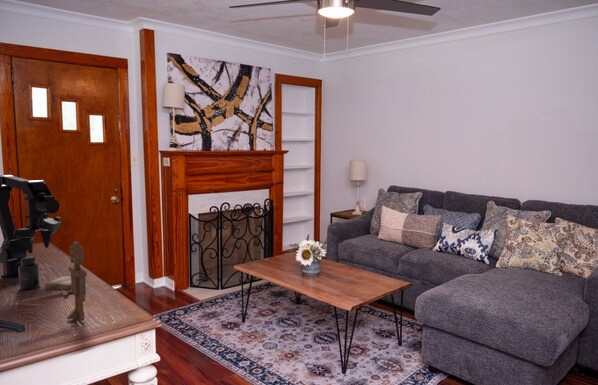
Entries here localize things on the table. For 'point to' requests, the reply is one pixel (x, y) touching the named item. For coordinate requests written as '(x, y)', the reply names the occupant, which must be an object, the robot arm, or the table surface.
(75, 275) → the wooden figure
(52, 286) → the beige flat block
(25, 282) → the supplement bottle
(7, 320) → the table surface
